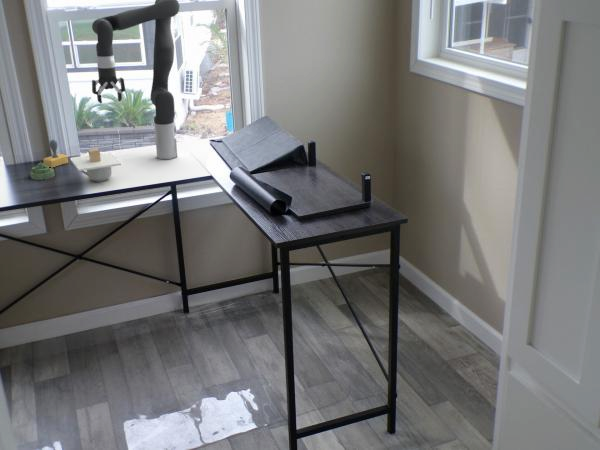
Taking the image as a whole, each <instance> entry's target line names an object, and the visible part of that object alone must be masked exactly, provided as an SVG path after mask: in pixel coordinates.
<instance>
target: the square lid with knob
mask: <svg viewBox="0 0 600 450" xmlns="http://www.w3.org/2000/svg"><path fill="white" fill-rule="evenodd" d="M87 151H88V154H87V155H81V156H74V157H70V158H69V159H70V161H71V163H72V165H74V167H75V168H76V170H77V171H78V172H81V171H87V170H91V169H98V168H105V167H111V168H113V167H118V166H122V164H121V162H120V160H118V159H117V157H115V155H114V154H112V152H103V153H101V152H100V149H99V148H98V147H93V148H88V149H87Z"/></svg>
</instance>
